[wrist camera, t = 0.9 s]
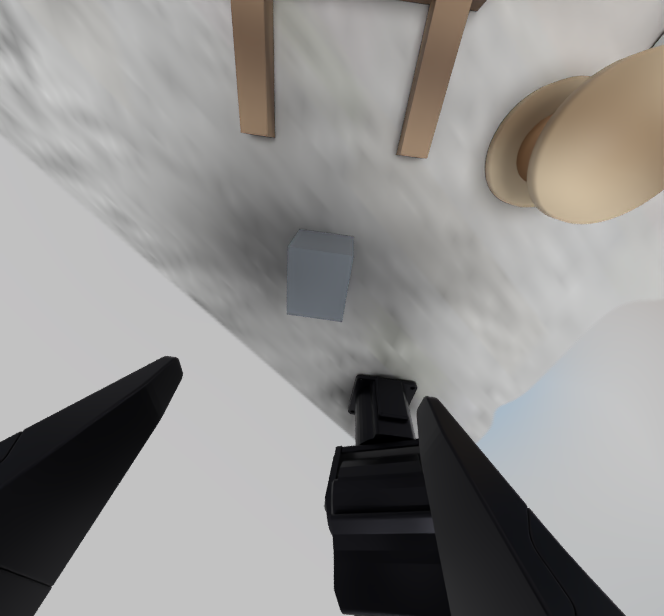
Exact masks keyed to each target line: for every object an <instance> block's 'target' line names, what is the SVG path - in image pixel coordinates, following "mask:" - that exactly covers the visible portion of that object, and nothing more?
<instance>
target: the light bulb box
mask: <svg viewBox="0 0 664 616" xmlns="http://www.w3.org/2000/svg"><path fill="white" fill-rule="evenodd" d="M661 45H664V34H663V35H662V36H661V38H660V39H659V40H658V41H657V43H656V44H655V45H654V47H657V46H661ZM654 47H653V48H654Z"/></svg>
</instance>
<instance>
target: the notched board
mask: <svg viewBox="0 0 664 616" xmlns="http://www.w3.org/2000/svg"><path fill="white" fill-rule="evenodd" d="M401 1H409V2H416V3H423V4H430V7H429V11H428V16H427V20H426V24H425V29H424V33H423V38H422V42H421V47H420V51H419V56H418V60H417V65H416V69H415V74H414V78H413V82H412V87H411V91H410V96H409V100H408V105H407V109H406V114H405V118H404V123H403V127H402V132H401V136H400V140H399V145H398V149H397V154H396V155H402V156H409V157H417V158H427V157H428V153H429V150H430V146H431V143H432V139H433V136H434V132H435V129H436V125H437V122H438V118H439V115H440V111H441V108H442V104H443V101H444V97H445V94H446V90H447V87H448V83H449V80H450V76H451V73H452V69H453V66H454V62H455V59H456V55H457V52H458V48H459V45H460V41H461V38H462V35H463V31H464V28H465V24H466V21H467V17H468V14H469V10H472V11H478V10H479V8H480V7H481V6H482V5H483V4H484V3H485V2H486V0H401ZM231 12H232V25H233V38H234V51H235V64H236V77H237V89H238V102H239V115H240V128H241V133H247V134H253V135H260V136H267V137H274V138H275V112H274V39H273V0H231Z"/></svg>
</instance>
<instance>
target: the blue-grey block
mask: <svg viewBox="0 0 664 616" xmlns="http://www.w3.org/2000/svg"><path fill="white" fill-rule="evenodd" d="M353 257H354V236H347V235H339V234H332V233H325V232H318V231H311V230H304V229H299V231H298V232H297V234H296V235H295V237H294V238H293V240H292V241H291V242H290V244H289V245H288V257H287V314H289V315H296V316H303V317H310V318H317V319H325V320H332V321H339V322H342V319H343V314H344V308H345V302H346V297H347V291H348V286H349V280H350V274H351V269H352V263H353Z"/></svg>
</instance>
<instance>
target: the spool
mask: <svg viewBox="0 0 664 616" xmlns="http://www.w3.org/2000/svg"><path fill="white" fill-rule="evenodd" d="M485 174H486V180H487V183H488V186H489V188H490V190H491V191H492V193H493V194H494V195H495V196H496V197H497V198H498V199H500V200H501V201H503V202H506V203H508V204H511V205H514V206H519V207H536V208H538V209H539V210H540V211H541V212H542V213H544V214H545V215H547V216H549V217H552V218H555V219H558V220H561V221H564V222H568V223H573V224H591V223H597V222H602V221H606V220H609V219H612V218H615V217H618V216H620V215H623V214H625V213H627V212H629V211H631V210H633V209H635V208H637V207H639V206H640V205H642V204H644V203H645V202H647V201H648V200H650V199H651V198H653V197H654V196H656V195H657V194H658V193H660V192H661V191H662V190H664V45H661V46H657V47H654V48H651V49H648V50H645V51H642V52H639V53H637V54H634V55H631V56H628V57H626V58H623V59H621V60H618V61H616V62H614V63H612V64H611V65H609V66H607V67H605V68H603V69H602V70H600V71H599V72H597V73H596V74H594V75H593V76H591V77H590V76H576V77H570V78H566V79H563V80H560V81H557V82H554V83H551V84H549V85H546V86H544V87H542V88H540V89H538V90H536V91H534V92H533V93H531V94H530V95H528V96H527V97H526V98H524V99H523V100H522V101H521V102H520V103H518V104H517V105H516V106H515V107H514V108H513V109H512V110H511V111H510V113H509V114H508V115H507V116H506V117H505V119H504V120H503V122H502V123H501V124H500V126H499V127H498V129H497V131H496V133H495V134H494V137H493V139H492V141H491V143H490V146H489V149H488V152H487V157H486V164H485Z"/></svg>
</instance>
